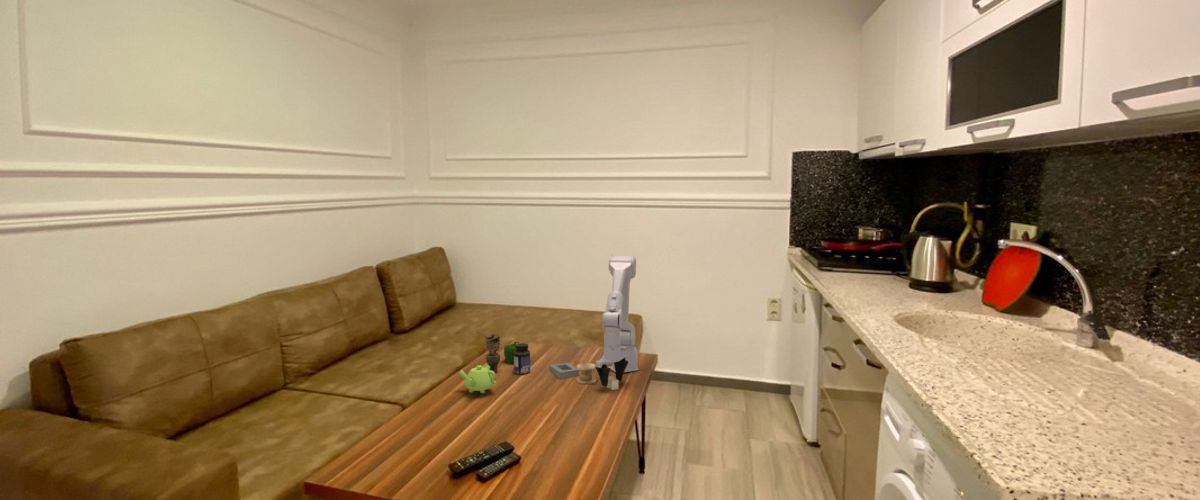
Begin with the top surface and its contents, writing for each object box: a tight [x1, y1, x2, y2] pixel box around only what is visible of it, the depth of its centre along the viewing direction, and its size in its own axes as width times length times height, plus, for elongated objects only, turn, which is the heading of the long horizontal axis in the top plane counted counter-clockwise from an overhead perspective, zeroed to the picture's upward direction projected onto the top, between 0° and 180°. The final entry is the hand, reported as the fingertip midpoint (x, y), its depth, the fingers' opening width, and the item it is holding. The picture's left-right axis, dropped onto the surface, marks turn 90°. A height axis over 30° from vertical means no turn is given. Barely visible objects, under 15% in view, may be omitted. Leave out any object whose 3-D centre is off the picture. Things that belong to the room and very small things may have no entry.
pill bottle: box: [513, 342, 531, 376], centre depth 196 cm, size 6×6×11 cm
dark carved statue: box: [485, 333, 501, 373], centre depth 195 cm, size 6×6×15 cm
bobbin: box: [576, 362, 597, 385], centre depth 187 cm, size 7×7×6 cm
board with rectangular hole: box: [549, 362, 580, 380], centre depth 195 cm, size 8×10×2 cm
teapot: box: [458, 364, 497, 394], centre depth 177 cm, size 11×12×8 cm
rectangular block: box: [606, 375, 619, 391], centre depth 181 cm, size 3×5×3 cm, turn 28°
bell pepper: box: [503, 340, 520, 365], centre depth 207 cm, size 8×8×10 cm
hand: (611, 383), depth 181 cm, fingers open, 7 cm apart
